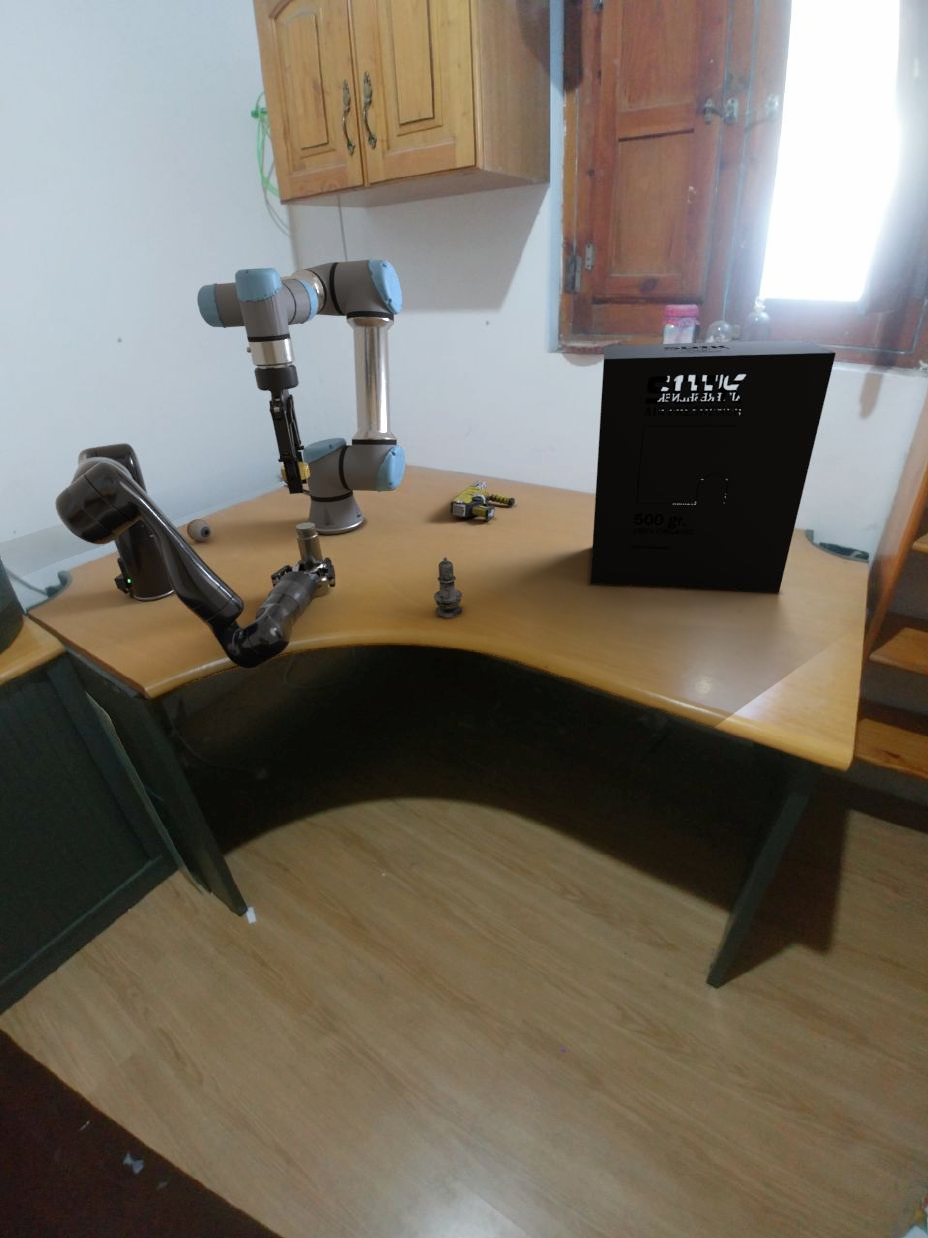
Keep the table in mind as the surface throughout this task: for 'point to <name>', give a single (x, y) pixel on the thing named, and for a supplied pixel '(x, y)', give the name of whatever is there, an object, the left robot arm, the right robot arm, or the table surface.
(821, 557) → the table surface
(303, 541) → the jar
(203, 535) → the eyeball
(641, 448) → the cardboard box
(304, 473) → the lid
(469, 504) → the toy gun
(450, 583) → the dark grey chess piece
